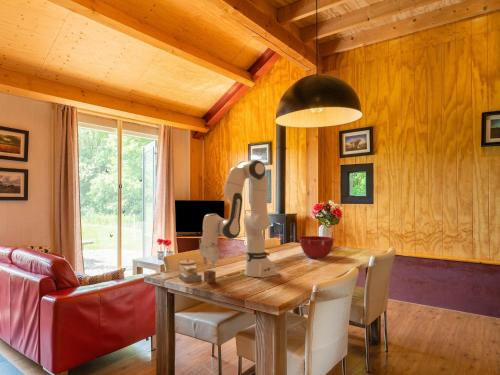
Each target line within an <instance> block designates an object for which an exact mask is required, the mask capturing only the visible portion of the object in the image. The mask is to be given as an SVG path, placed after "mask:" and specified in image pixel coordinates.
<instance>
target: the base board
mask: <svg viewBox="0 0 500 375" xmlns="http://www.w3.org/2000/svg"><path fill="white" fill-rule="evenodd" d="M178 278H179V279H180V280H181V281H182V282H183V283H191V282H198V280H199V281H202V279H203V278H202V274H201V273H199V272H197V275H190V276H187V275H185V274H184V273H181V272H180V273H179V277H178Z"/></svg>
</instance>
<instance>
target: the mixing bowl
mask: <svg viewBox="0 0 500 375" xmlns="http://www.w3.org/2000/svg"><path fill="white" fill-rule="evenodd" d="M298 240H299V243H300V244H299V245H300V247H301V250H302V252H303V254H304V255H305V256H306V257H308V258H309V259H310V258H311V259H325V258H326V257H328V255H329V254H330V253H331V250H332V248H333V245H334V241H335V238H334V237H329V236H318V235H307V236H299V237H298Z"/></svg>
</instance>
